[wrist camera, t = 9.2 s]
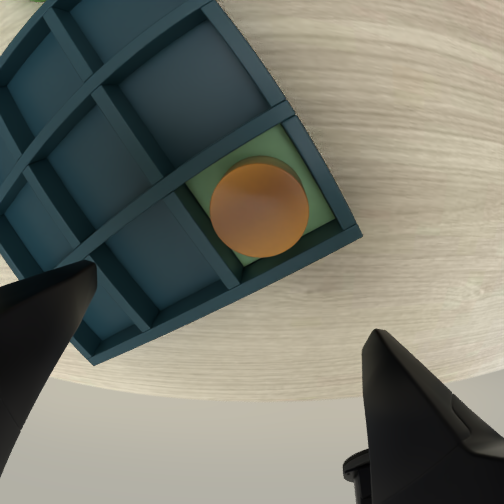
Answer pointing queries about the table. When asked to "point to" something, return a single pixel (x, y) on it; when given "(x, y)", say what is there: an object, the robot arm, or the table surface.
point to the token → (259, 207)
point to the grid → (145, 161)
